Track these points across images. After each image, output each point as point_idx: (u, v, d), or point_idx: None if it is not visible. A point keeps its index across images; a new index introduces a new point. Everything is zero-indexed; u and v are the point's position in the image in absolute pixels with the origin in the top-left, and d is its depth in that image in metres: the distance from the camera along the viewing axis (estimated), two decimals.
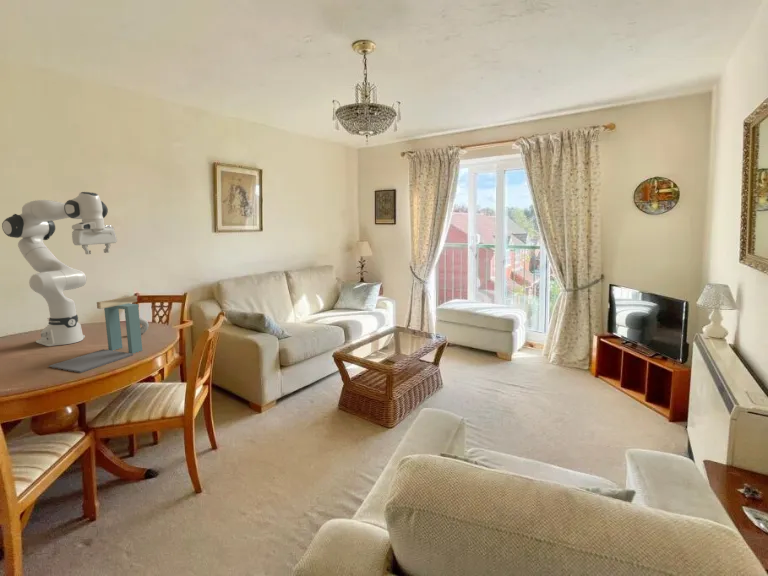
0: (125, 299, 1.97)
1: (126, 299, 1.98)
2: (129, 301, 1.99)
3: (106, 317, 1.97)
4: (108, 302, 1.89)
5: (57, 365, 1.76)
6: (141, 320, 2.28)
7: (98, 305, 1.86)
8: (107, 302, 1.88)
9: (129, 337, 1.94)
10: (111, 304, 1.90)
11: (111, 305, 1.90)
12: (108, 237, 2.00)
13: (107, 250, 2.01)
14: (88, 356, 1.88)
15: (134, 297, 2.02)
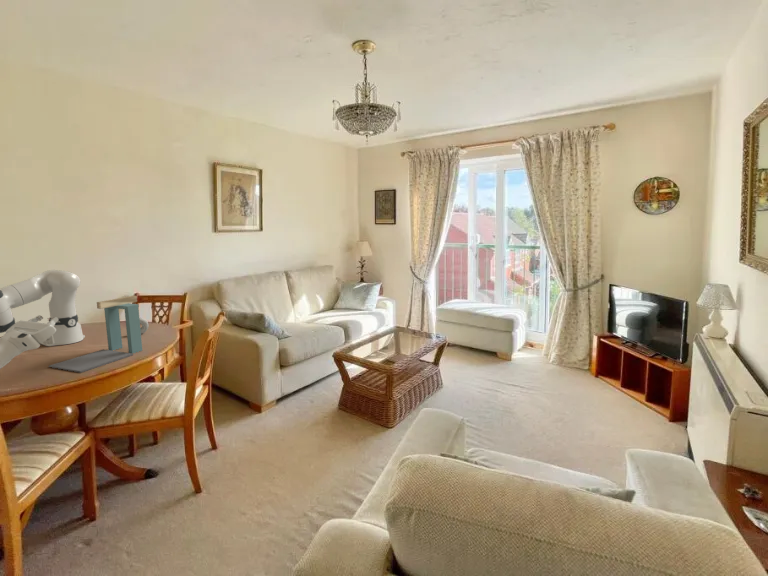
0: (125, 299, 1.97)
1: (126, 299, 1.98)
2: (129, 301, 1.99)
3: (106, 317, 1.97)
4: (108, 302, 1.89)
5: (57, 365, 1.76)
6: (141, 320, 2.28)
7: (98, 305, 1.86)
8: (107, 302, 1.88)
9: (129, 337, 1.94)
10: (111, 304, 1.90)
11: (111, 305, 1.90)
12: (20, 325, 1.61)
13: (37, 316, 1.66)
14: (88, 356, 1.88)
15: (134, 297, 2.02)
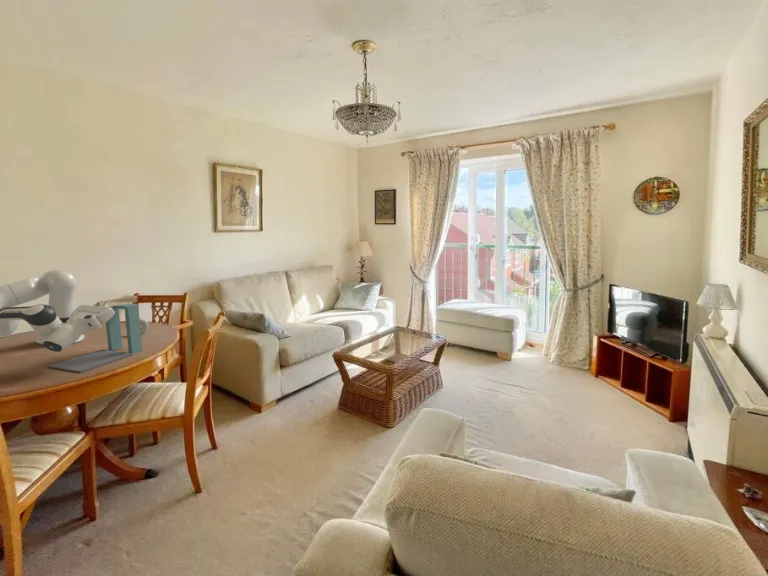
0: (125, 299, 1.97)
1: (126, 299, 1.98)
2: (129, 301, 1.99)
3: None
4: None
5: (57, 365, 1.76)
6: (141, 320, 2.28)
7: (98, 305, 1.86)
8: None
9: (129, 337, 1.94)
10: (111, 304, 1.90)
11: (111, 305, 1.90)
12: (82, 309, 1.84)
13: (100, 301, 1.88)
14: (88, 356, 1.88)
15: (134, 297, 2.02)
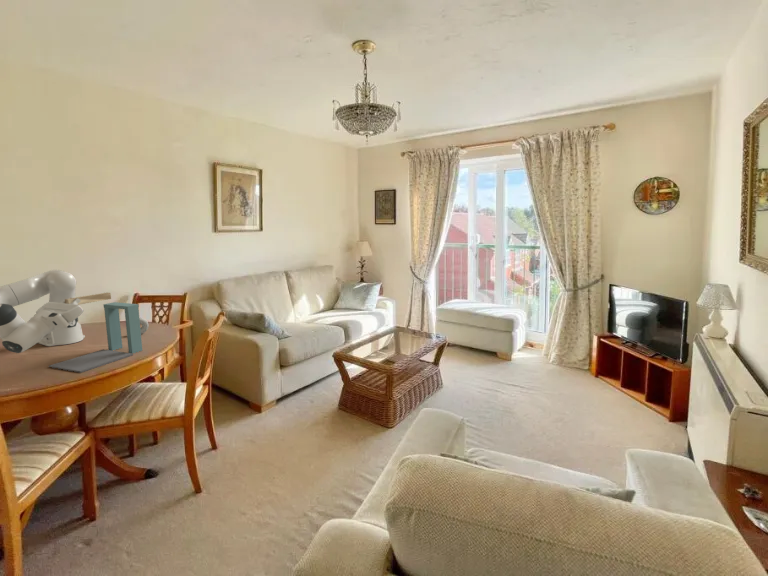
0: (97, 296, 1.84)
1: (98, 296, 1.84)
2: (102, 298, 1.86)
3: (106, 317, 1.97)
4: None
5: (57, 365, 1.76)
6: (141, 320, 2.28)
7: (66, 302, 1.72)
8: None
9: (129, 337, 1.94)
10: (81, 301, 1.77)
11: (81, 302, 1.77)
12: (49, 306, 1.70)
13: None
14: (88, 356, 1.88)
15: (107, 294, 1.88)
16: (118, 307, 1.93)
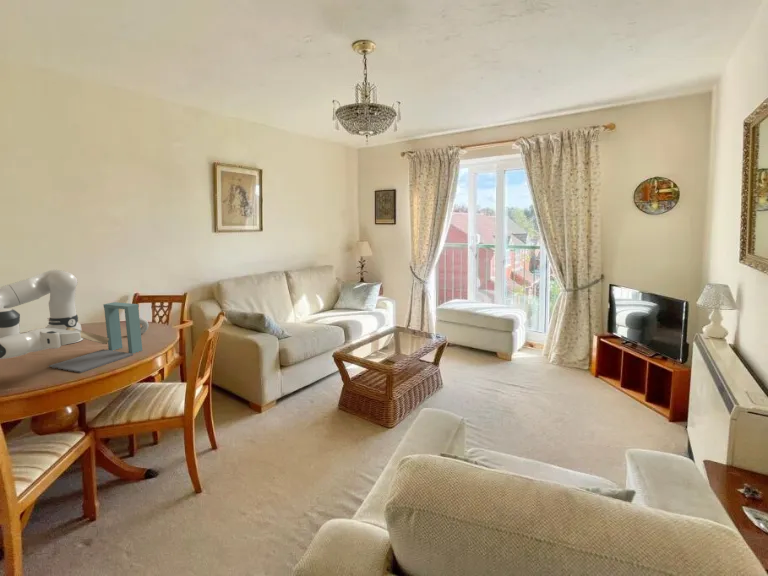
0: (96, 336, 1.84)
1: (97, 336, 1.85)
2: (99, 340, 1.86)
3: (106, 317, 1.97)
4: None
5: (57, 365, 1.76)
6: (141, 320, 2.28)
7: None
8: None
9: (129, 337, 1.94)
10: None
11: None
12: (48, 330, 1.71)
13: None
14: (88, 356, 1.88)
15: (106, 338, 1.89)
16: (118, 307, 1.93)
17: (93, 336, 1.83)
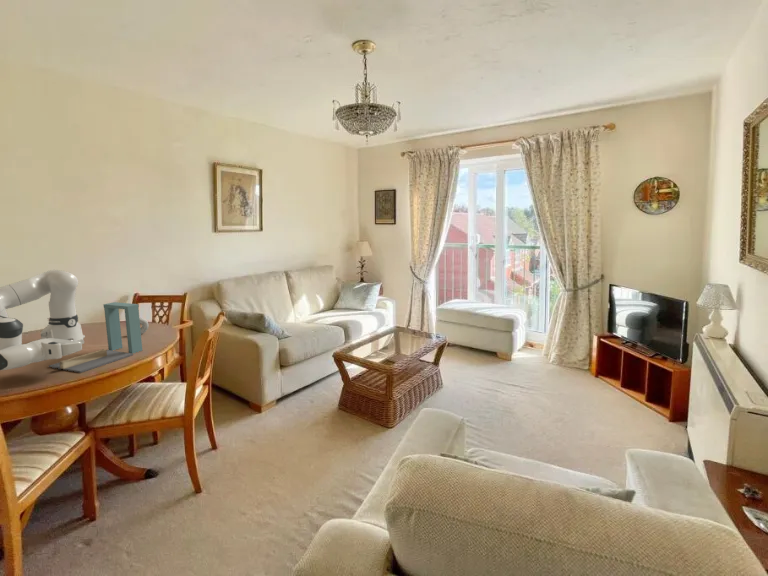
0: (93, 355, 1.83)
1: (94, 355, 1.84)
2: (97, 356, 1.86)
3: (106, 317, 1.97)
4: (72, 361, 1.75)
5: (57, 365, 1.76)
6: (141, 320, 2.28)
7: (61, 365, 1.72)
8: (71, 361, 1.75)
9: (129, 337, 1.94)
10: (76, 362, 1.77)
11: (76, 363, 1.77)
12: (50, 340, 1.72)
13: (69, 338, 1.77)
14: None
15: (103, 351, 1.88)
16: (118, 307, 1.93)
17: (90, 356, 1.82)
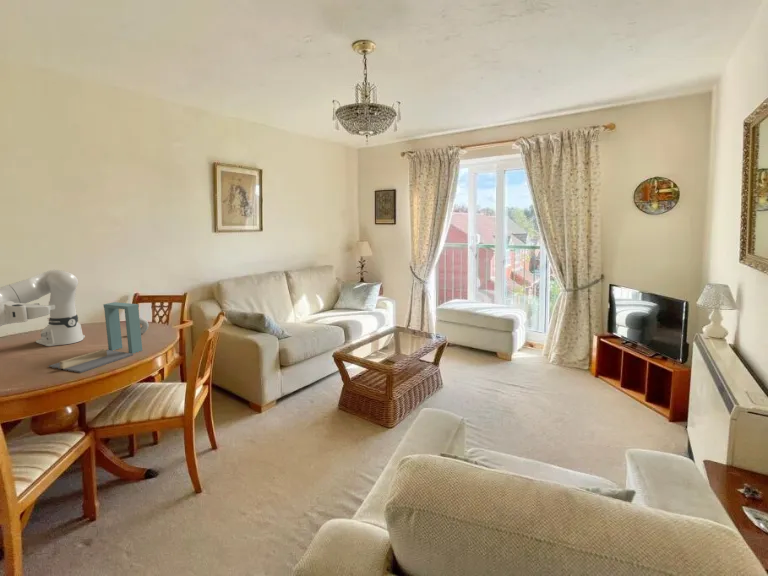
0: (93, 355, 1.83)
1: (94, 355, 1.84)
2: (97, 356, 1.86)
3: (106, 317, 1.97)
4: (72, 361, 1.75)
5: (57, 365, 1.76)
6: (141, 320, 2.28)
7: (61, 365, 1.72)
8: (71, 361, 1.75)
9: (129, 337, 1.94)
10: (76, 362, 1.77)
11: (76, 363, 1.77)
12: None
13: (35, 303, 1.68)
14: None
15: (103, 351, 1.88)
16: (118, 307, 1.93)
17: (90, 356, 1.82)
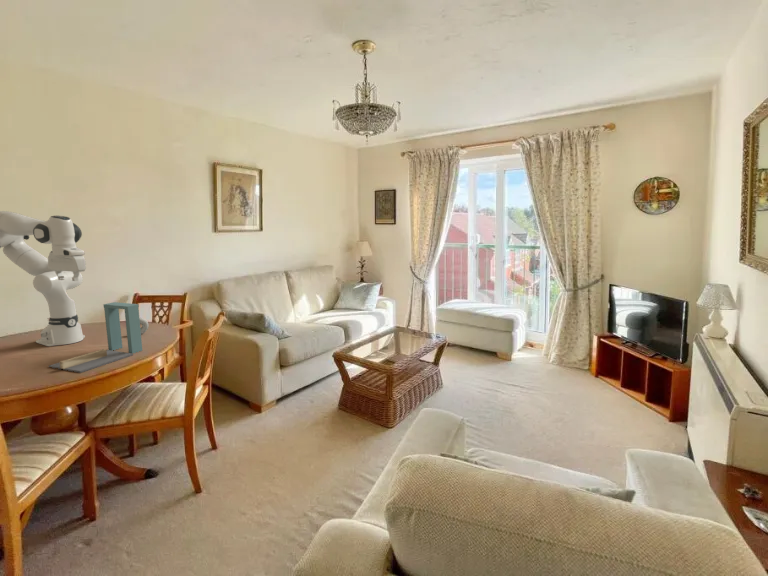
0: (93, 355, 1.83)
1: (94, 355, 1.84)
2: (97, 356, 1.86)
3: (106, 317, 1.97)
4: (72, 361, 1.75)
5: (57, 365, 1.76)
6: (141, 320, 2.28)
7: (61, 365, 1.72)
8: (71, 361, 1.75)
9: (129, 337, 1.94)
10: (76, 362, 1.77)
11: (76, 363, 1.77)
12: None
13: None
14: None
15: (103, 351, 1.88)
16: (118, 307, 1.93)
17: (90, 356, 1.82)
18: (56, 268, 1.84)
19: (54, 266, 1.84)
